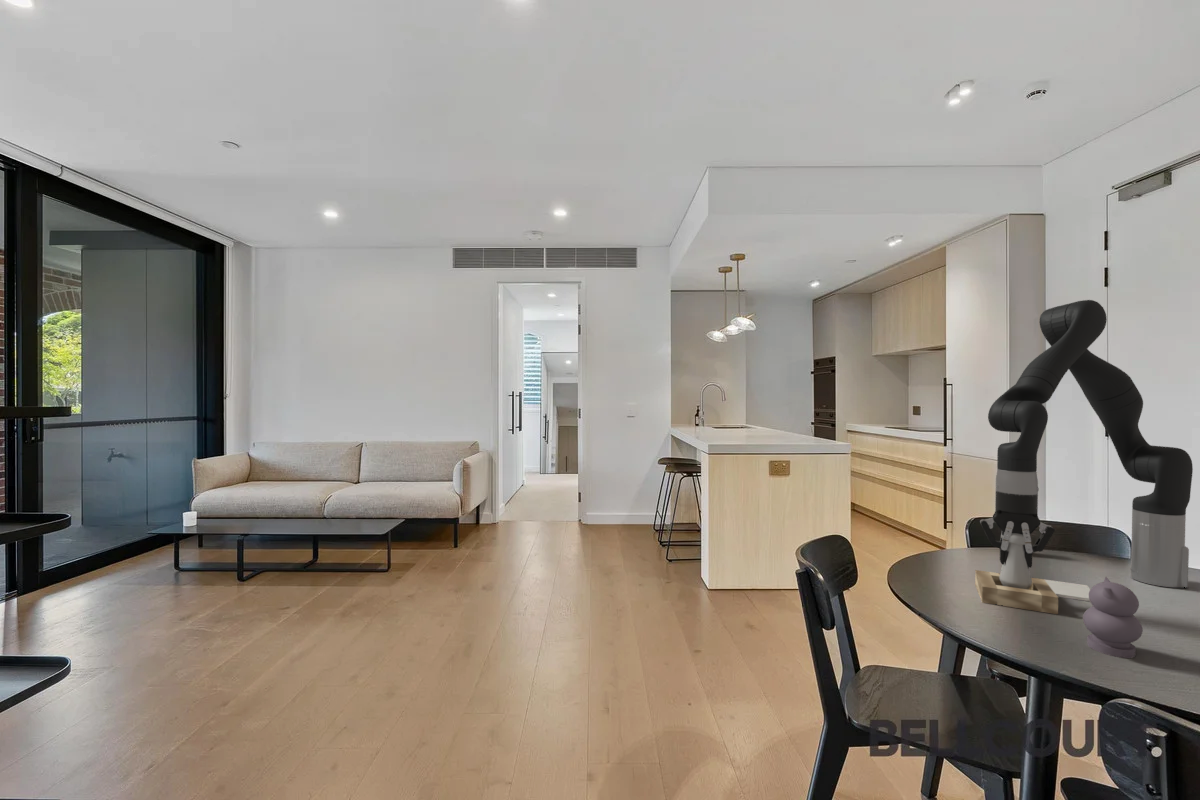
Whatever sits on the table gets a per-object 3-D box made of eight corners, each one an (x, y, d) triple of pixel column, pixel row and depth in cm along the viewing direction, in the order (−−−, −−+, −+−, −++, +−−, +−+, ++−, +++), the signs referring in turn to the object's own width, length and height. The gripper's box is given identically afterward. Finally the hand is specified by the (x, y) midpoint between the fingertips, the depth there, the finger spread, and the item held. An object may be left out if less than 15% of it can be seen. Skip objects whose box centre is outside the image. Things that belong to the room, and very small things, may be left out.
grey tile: (1086, 587, 131) (1086, 585, 131) (1101, 603, 121) (1101, 600, 121) (1028, 579, 136) (1028, 577, 136) (1038, 593, 127) (1038, 591, 127)
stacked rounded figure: (1142, 665, 93) (1144, 594, 93) (1081, 650, 99) (1082, 583, 98) (1141, 648, 99) (1143, 582, 99) (1083, 635, 105) (1084, 572, 105)
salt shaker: (1020, 586, 126) (1021, 529, 126) (1038, 595, 120) (1038, 535, 120) (993, 585, 127) (994, 528, 127) (1009, 594, 121) (1010, 535, 121)
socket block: (1043, 594, 126) (1044, 579, 126) (1057, 614, 115) (1058, 597, 115) (975, 584, 132) (975, 570, 132) (982, 602, 121) (982, 586, 121)
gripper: (1052, 490, 123) (1051, 567, 123) (976, 485, 130) (975, 558, 130) (1060, 495, 117) (1059, 577, 117) (980, 490, 123) (979, 567, 124)
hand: (1015, 567), depth 124 cm, fingers closed on salt shaker, 3 cm apart
